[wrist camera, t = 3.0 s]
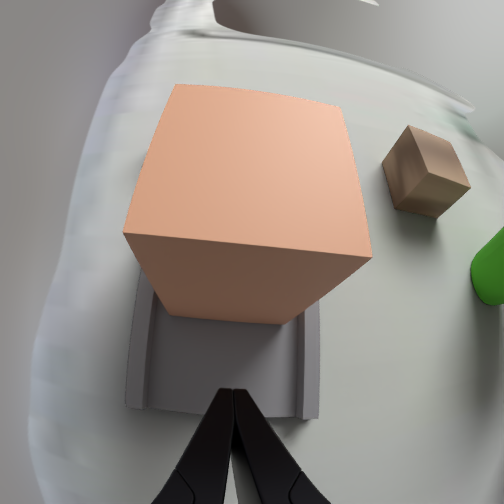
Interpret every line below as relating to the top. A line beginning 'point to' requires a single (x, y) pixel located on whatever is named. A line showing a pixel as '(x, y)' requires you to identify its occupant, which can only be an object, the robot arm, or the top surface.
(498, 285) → the cup
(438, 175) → the walnut block
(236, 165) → the terracotta block
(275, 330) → the track
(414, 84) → the top surface
